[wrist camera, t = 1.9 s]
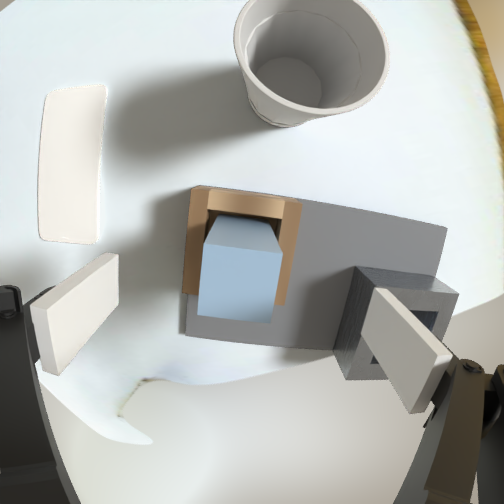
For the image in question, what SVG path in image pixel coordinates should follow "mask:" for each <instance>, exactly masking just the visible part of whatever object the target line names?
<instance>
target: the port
mask: <svg viewBox="0 0 504 504" xmlns="http://www.w3.org/2000/svg"><path fill="white" fill-rule="evenodd" d="M374 287H375V288H384V289H387V290H388V291H389V292H391V293H392V294H393V295H394V296H395V297H396V298H397V299H398V300H399V301H400V302H401V303H402V304H403V305H404V306H405V307H406V308H407V309H408V310H409V311H410V312H411V313H412V314H413V315H414V316H415V317H416V318H417V319H418V320H419V321H420V322H421V323H422V324H423V325H424V326H425V327H426V328H427V329H428V330H429V331H430V332H431V333H432V334H434V335H436V336H437V337H438V338H439V339H440V340H441V341H442V339H443V337H444V334H445V332H446V329H447V327H448V324H449V321H450V319H451V316H452V313H453V310H454V308H455V305H456V302H457V299H458V296H459V293H457V292H456V291H454V290H453V289H451V288H450V287H448V286H447V285H446V284H444V283H443V282H441V281H440V280H438V279H437V278H435V277H434V276H432V275H425V274H418V273H410V272H402V271H394V270H386V269H379V268H371V267H363V266H355V268H354V272H353V276H352V280H351V284H350V288H349V292H348V296H347V300H346V304H345V308H344V311H343V315H342V319H341V322H340V326H339V329H338V333H337V336H336V339H335V343H334V346H333V349H332V351H333V353H334V355H335V357H336V359H337V362H338V363H339V366H340V368H341V371H342V373H343V375H344V377H345V379H346V380H383V379H384V380H386V379H388V377H387V376H386V374H385V372H384V371H383V369H382V367H381V366H380V364H379V362H378V361H377V359H376V358H375V356H374V354H373V353H372V351H371V349H370V348H369V346H368V345H367V343H366V341H365V340H364V338H363V337H362V335H361V331H362V328H363V325H364V321H365V318H366V315H367V311H368V308H369V304H370V301H371V297H372V294H373V290H374Z"/></svg>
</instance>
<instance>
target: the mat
mask: <svg viewBox="0 0 504 504" xmlns="http://www.w3.org/2000/svg"><path fill="white" fill-rule="evenodd" d="M199 186H203V185H199ZM205 187H212V186H205ZM214 188H220V187H214ZM222 189H228V188H222ZM230 190H236V189H230ZM238 191H243V190H238ZM245 192H251V191H245ZM253 193H258V192H253ZM260 194H265V193H260ZM267 195H272V194H267ZM274 196H279V195H274ZM281 197H286V196H281ZM287 198H292V197H287ZM294 199H296V200H298V201H299V202H301V203H302V204H303V205H302V211H301V217H300V223H299V229H298V235H297V241H296V246H295V252H294V257H293V263H292V268H291V273H290V279H289V284H288V289H287V294H286V299H285V305H284V306H282V305H274V307H273V312H272V317H271V323H270V324H269V323H259V322H250V321H241V320H233V319H225V318H217V317H209V316H202V315H197V312H198V300H199V295H192V294H188V301H187V316H186V334H185V336H190V337H197V338H205V339H212V340H220V341H228V342H237V343H246V344H256V345H266V346H277V347H290V348H304V349H320V350H332V349H333V346H334V343H335V339H336V336H337V333H338V329H339V326H340V322H341V319H342V315H343V311H344V308H345V304H346V300H347V296H348V292H349V288H350V284H351V280H352V276H353V272H354V268H355V266H363V267H371V268H379V269H386V270H394V271H402V272H410V273H418V274H425V275H432V276H434V277H435V276H436V272H437V269H438V265H439V261H440V258H441V254H442V250H443V246H444V242H445V237H446V233H447V228H446V227H443V226H438V225H434V224H430V223H425V222H421V221H416V220H411V219H407V218H402V217H397V216H392V215H387V214H382V213H377V212H372V211H367V210H362V209H356V208H351V207H346V206H340V205H334V204H329V203H323V202H317V201H311V200H305V199H298V198H294Z"/></svg>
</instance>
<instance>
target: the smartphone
mask: <svg viewBox="0 0 504 504" xmlns="http://www.w3.org/2000/svg"><path fill="white" fill-rule="evenodd" d="M107 93H108V91H107V88H106V87H105V86H104V85H89V86H81V87H74V88H67V89H60V90H54V91H51V92H50V93H49V94H48V95H47V97H46V100H45V106H44V113H43V121H42V130H41V141H40V154H39V174H38V219H39V233H40V236H41V238H42V239H44V240H47V241H56V242H67V243H78V244H94V243H95V242H97V241H98V239H99V205H100V199H99V195H100V165H101V150H102V138H103V128H104V123H103V122H104V118H105V109H106V102H107Z"/></svg>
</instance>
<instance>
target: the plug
mask: <svg viewBox="0 0 504 504" xmlns="http://www.w3.org/2000/svg"><path fill="white" fill-rule="evenodd" d="M282 256H283V253H282V251H281V248H280V246H279V244H278V241H277V239H276V237H275V235H274V232H273V230H272V228H271V226H270V223H269V221H268V220H265V219H258V218H250V217H243V216H235V215H227V214H218V216H217V218H216V220H215V222H214V224H213V226H212V228H211V230H210V232H209V234H208V236H207V238H206V240H205V242H204V246H203V256H202V266H201V277H200V288H199V300H198V312H197V315H202V316H209V317H217V318H225V319H233V320H241V321H250V322H259V323H269V324H270V323H271V317H272V312H273V307H274V301H275V296H276V290H277V285H278V279H279V273H280V268H281V262H282Z"/></svg>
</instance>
